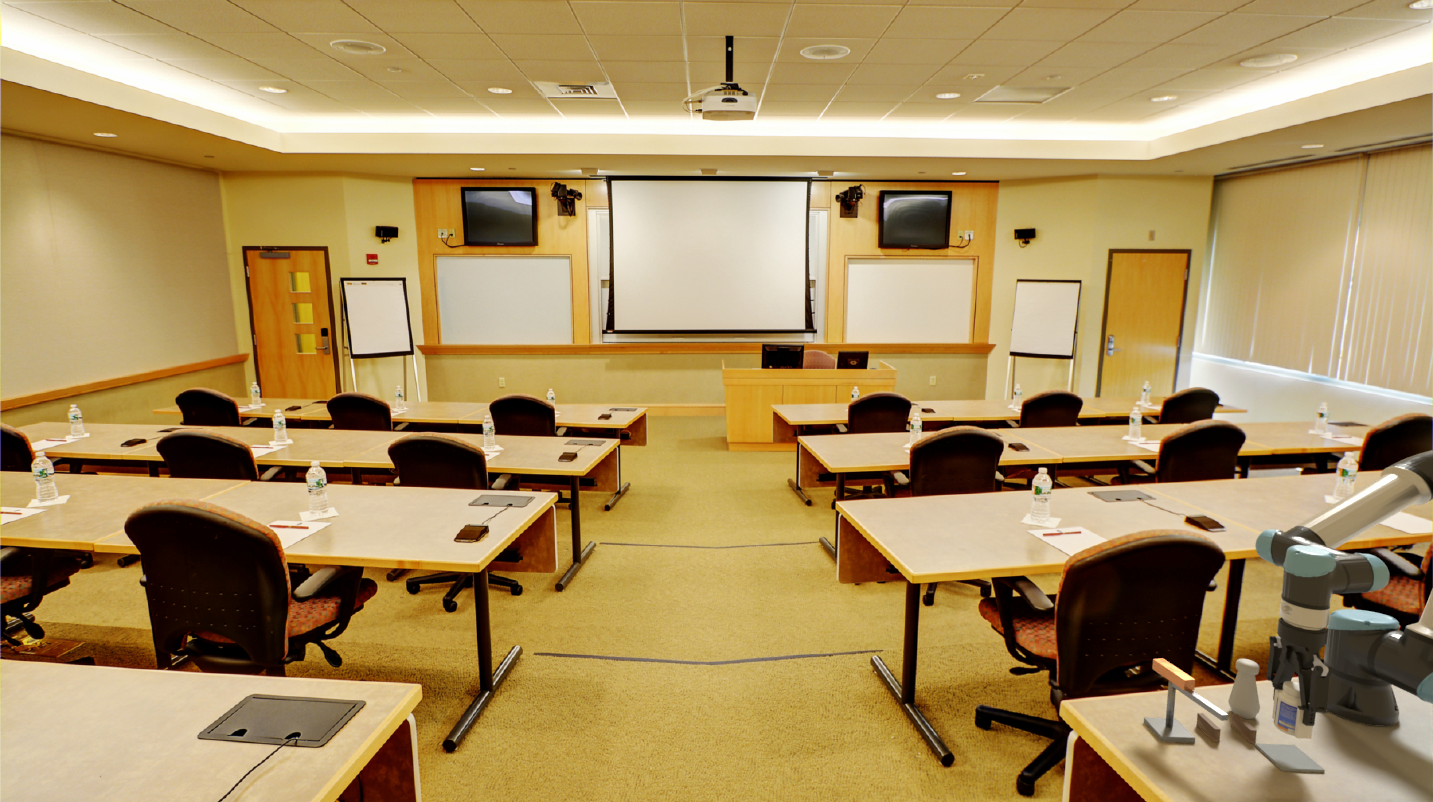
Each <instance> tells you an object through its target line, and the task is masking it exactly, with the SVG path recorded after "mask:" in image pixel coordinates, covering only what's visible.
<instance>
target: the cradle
mask: <svg viewBox="0 0 1433 802" xmlns="http://www.w3.org/2000/svg"><path fill="white" fill-rule="evenodd" d="M1230 721H1231V722H1230V727H1231V728H1232V729H1233V730H1235V731H1236V732H1237V733H1238V734H1239V736H1241V737H1242V738H1243V739H1244V740H1245V741H1247V742H1248V743H1249V744H1257V743H1256V742H1257V729H1256V728H1255V727H1253V726H1252V725H1251V724H1250V723H1249V722H1248V721H1246V719H1245V718H1242V717H1241V716H1239V715H1238V714H1234V713H1231V720H1230ZM1196 727H1198V728H1199V729H1200V730H1201V732H1203V733H1204V734H1205V736H1207V737H1208V738H1209V739H1210V740H1211V741H1212V742H1213V743H1220V741H1221V740H1220V739H1221V731H1222V730H1221V728H1220V727H1219V726H1218V725H1217V724H1215V722H1213V720H1211V719H1210V718H1209V717H1208V716H1207V715H1206V714H1205V713H1203V712H1197V715H1196Z"/></svg>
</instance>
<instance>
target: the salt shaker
mask: <svg viewBox="0 0 1433 802" xmlns="http://www.w3.org/2000/svg"><path fill="white" fill-rule="evenodd" d="M1235 669H1236V670H1237V673H1236V677H1235V679H1234V683H1233V685H1232V688H1231V691H1230V693H1229V694H1230V695H1229V698H1228V701H1227V702H1228V705H1229V707H1230V710H1231V712H1232V714H1238V715H1239V716H1241V717H1242V718H1243V719H1244V720H1251V719H1255V718H1256V717H1257V716H1258V714H1259V712H1260V709H1261V704H1260V699H1259V693H1258V687H1257V680H1256V679H1257V678H1256V676H1257V675H1258V674H1259V673H1260V665H1259V664H1258V663H1257V662H1255V661H1254V660H1252V659H1248V658H1238V659H1237V660H1236V662H1235Z"/></svg>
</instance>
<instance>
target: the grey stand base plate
mask: <svg viewBox="0 0 1433 802" xmlns="http://www.w3.org/2000/svg"><path fill="white" fill-rule="evenodd" d="M1165 723H1166V717H1143V724H1144V725H1145V726H1146V727H1147V728H1148V729H1149V730H1150V731H1151V732H1152V733H1153V734H1154V735H1155V737H1157V739H1158V740H1159V741H1160V742H1163V743H1187V744H1188V743H1191V744H1192V743H1194V744H1195V743H1196V737H1195V736H1194V735H1193V734H1192V732H1190V731H1189V730H1188V728H1187V727H1185V725H1184V724H1182V723H1181V721H1179V719H1177V718H1176V717H1174V720H1173V728H1169V727H1166V725H1165Z"/></svg>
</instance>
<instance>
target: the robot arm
mask: <svg viewBox="0 0 1433 802" xmlns="http://www.w3.org/2000/svg"><path fill="white" fill-rule="evenodd" d="M1432 500H1433V450H1432V449H1431V450H1428V451H1424V452H1419V453H1416V454H1414V455H1411V456H1409V457H1406V458H1404V459H1401V460H1399V461H1397V462H1395V463H1392V464H1391V465H1389V466H1388V467H1385V468H1384V469H1383V470H1382V471H1381V473H1380V477H1378V478H1377V479H1375V480H1373V481H1371V482H1369V483H1368V484H1367V485H1365V486H1363V487H1361V488H1359V489H1358V490H1355V491H1354V492H1352V493H1351V494H1349V495H1347V496H1346V497H1344V498H1342V499H1340V500H1338V501H1337V502H1335V503H1333V504H1332V505H1330V506H1328V507H1327V508H1325V509H1323V510H1321V511H1320V512H1317V513H1315V515H1312V516H1310V517H1309V518H1307V519H1306V520H1303V521H1302V522H1300V523H1299V524H1296V525H1295V526H1294V527H1291V528H1290V529H1288V530H1287V531H1283V530H1280V529H1273V528H1271V529H1265V530H1263V531H1262V532H1261V533H1260V534H1259V535H1258V536H1257V538H1256V540H1255V550H1256V553H1257V555H1258V556H1259V557H1260V558H1261V559H1262V560H1264V561H1266V562H1268V563H1271V564H1272V565H1274V566H1277V567H1281V568H1283V573H1282V574H1283V577H1282V590H1281V594H1280V595H1281V599H1280V606H1279V616H1280V617H1279V618H1278V623H1277V636H1276V635H1274V636H1273V635H1269V637H1268V639H1269V653H1268V654H1269V655H1268V661H1267V669H1266V670H1267V671H1266V675H1265V676H1266V677H1265V678H1266V680H1267V681H1268V682H1271V685H1272V687H1273V695H1272V700H1273V707H1272V716H1271V718H1272V719H1273V720H1274V718H1275V711H1276V703H1277V696H1278V692H1279V691H1282V690H1283V683H1284V682H1285V681H1292V680H1293V677H1294V675H1295V673H1296V674H1297V676H1298V683H1299V688H1300V697H1301V706H1298V707H1297V716H1296V725H1295V734H1294V736H1293V737H1295V738H1296V739H1308V740H1309V739H1312V736H1313V727H1314V726H1315V723H1316V715H1317V713H1318V714H1320V713H1321V714H1323V713H1324V714H1326V713H1327V712H1329V713H1330V714H1332V715H1335V716H1337V717H1340V718H1343V719H1345V720H1348V721H1352V722H1355V723H1359V724H1361V725H1362V724H1364V725H1368V726H1376V727H1390V726H1391V727H1392V726H1394V725H1396V724H1398V723H1399V720H1400V719H1399V718H1400V708H1399V706H1398V703H1397V699H1396V697H1395V692H1394V689H1393V687H1392V686H1394V687H1396V688H1398V689H1401V690H1402V691H1404V692H1407V693H1409V694H1411V695H1413V696H1415V697H1417V698H1418V699H1420V700H1421V701H1423V702H1426V703H1429V704H1432V705H1433V588H1432V589H1431V591H1430V594H1429V597H1428V600H1427V602H1426V604H1425V607H1424V609H1423V612H1422V613H1421V616H1420V619H1419V621H1418V622H1415V623H1411V624H1408V625H1406V626H1405V628H1404V631H1402V630H1399V629H1400V628H1401V625H1400V622H1399V621H1398V620H1397V619H1396V618H1394V617H1393V616H1391V615H1387V614H1383V613H1380V612H1375V611H1372V610H1371V611H1369V610H1364V609H1363V610H1362V609H1354V608H1353V609H1349V608H1348V609H1347V608H1346V609H1337V610H1333V611H1332V612H1331V613H1330V610H1331V601H1332V595H1339V594H1340V595H1341V594H1358V593H1359V594H1360V593H1361V594H1363V593H1364V594H1366V593H1369V592H1375V591H1379V590H1382V589H1384V588H1385V587H1387V585H1388V584H1389V582H1390V570H1389V569H1388V566H1387V565H1386V564H1385V562H1384V561H1383V560H1381V559H1380V558H1379V557H1377V556H1376V555H1373V554H1370V553H1361V552H1354V553H1349V552H1345V551H1341V550H1338V549H1337V548H1339V547H1341V546H1342V545H1344V544H1345V543H1347V542H1349V541H1351V540H1353V539H1355V538H1356V537H1359V536H1360V535H1362V534H1363V533H1365V532H1367V531H1369V530H1370V529H1372V528H1374V527H1375V526H1377V525H1379V524H1381V523H1382V522H1384V521H1387V520H1388V519H1390V518H1391V517H1393V516H1395V515H1397V514H1398V513H1400V512H1401V511H1404V510H1405V509H1407V508H1408V507H1410V506H1413V505H1415V506H1420V505H1425V504H1427V503H1428V502H1430V501H1432ZM1324 647H1325V648H1324ZM1322 648H1324V657H1323V662H1322V660H1321V659H1322V657H1321V653H1320V652H1321V651H1320V650H1321V649H1322ZM1308 703H1309V704H1308Z"/></svg>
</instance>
